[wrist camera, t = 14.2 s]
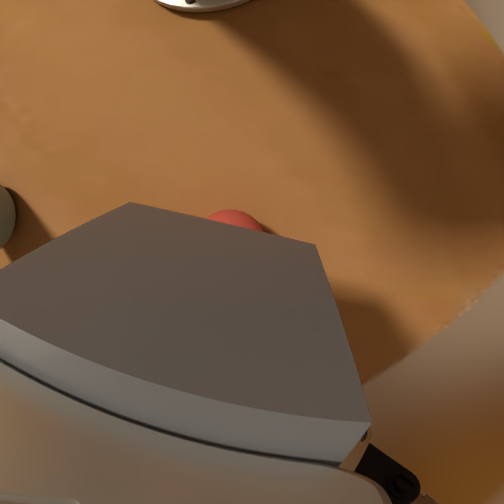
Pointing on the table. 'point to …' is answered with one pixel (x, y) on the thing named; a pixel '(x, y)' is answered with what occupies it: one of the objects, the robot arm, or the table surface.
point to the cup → (6, 216)
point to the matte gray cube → (189, 332)
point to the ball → (236, 219)
